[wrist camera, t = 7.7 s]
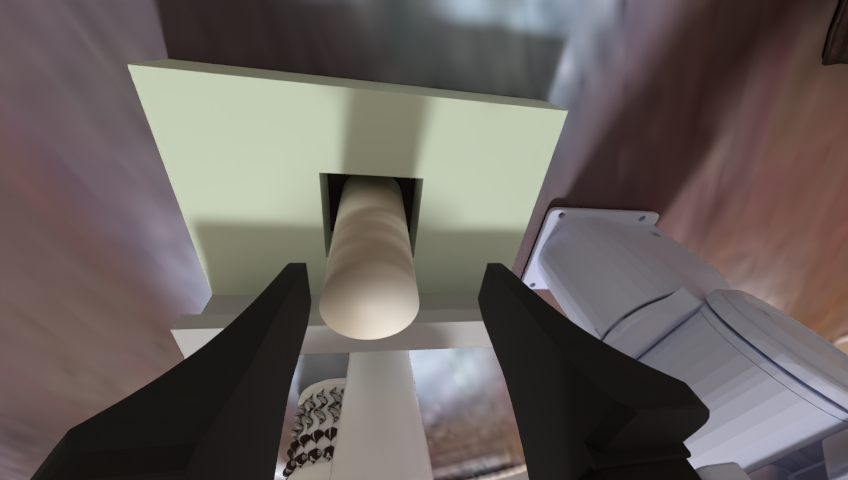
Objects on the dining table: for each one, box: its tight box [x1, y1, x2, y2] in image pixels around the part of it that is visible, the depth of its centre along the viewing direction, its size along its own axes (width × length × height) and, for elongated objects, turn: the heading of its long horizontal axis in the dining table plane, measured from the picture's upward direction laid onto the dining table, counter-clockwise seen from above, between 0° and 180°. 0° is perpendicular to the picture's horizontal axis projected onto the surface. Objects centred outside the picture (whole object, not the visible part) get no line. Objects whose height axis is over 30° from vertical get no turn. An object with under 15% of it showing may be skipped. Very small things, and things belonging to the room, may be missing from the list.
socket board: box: [127, 59, 568, 359], centre depth 18 cm, size 20×14×7 cm
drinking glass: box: [329, 350, 434, 480], centre depth 23 cm, size 7×7×15 cm
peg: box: [319, 174, 419, 340], centre depth 16 cm, size 4×4×10 cm
